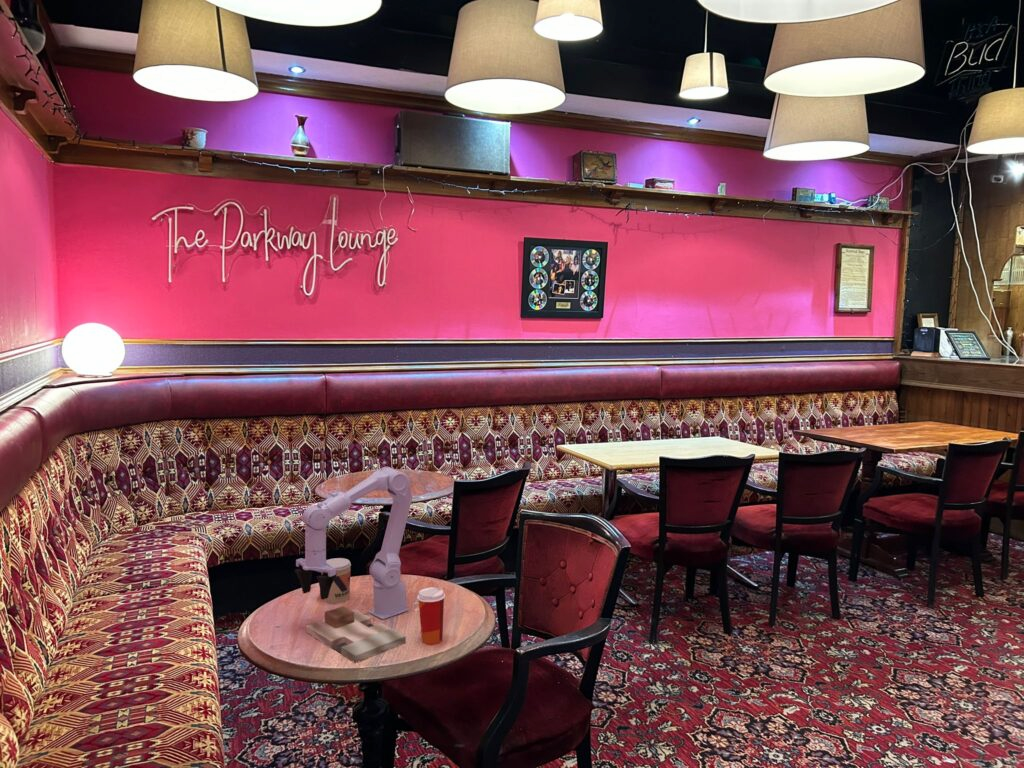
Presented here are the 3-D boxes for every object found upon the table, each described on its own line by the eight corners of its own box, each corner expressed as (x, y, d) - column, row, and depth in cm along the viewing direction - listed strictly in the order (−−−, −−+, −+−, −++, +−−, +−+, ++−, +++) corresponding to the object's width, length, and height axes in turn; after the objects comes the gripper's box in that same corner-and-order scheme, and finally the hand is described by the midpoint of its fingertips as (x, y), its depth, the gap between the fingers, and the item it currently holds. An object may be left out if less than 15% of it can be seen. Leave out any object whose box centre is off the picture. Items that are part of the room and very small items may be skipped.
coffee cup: (334, 607, 224) (333, 569, 223) (315, 600, 230) (314, 563, 229) (358, 597, 232) (357, 561, 231) (339, 591, 237) (337, 555, 236)
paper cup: (432, 632, 206) (431, 584, 205) (451, 639, 201) (450, 590, 200) (412, 641, 200) (410, 593, 199) (431, 649, 195) (430, 599, 194)
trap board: (354, 615, 218) (354, 609, 218) (405, 643, 200) (405, 636, 199) (306, 632, 207) (305, 625, 207) (355, 663, 188) (355, 655, 188)
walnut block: (343, 616, 213) (342, 606, 213) (354, 622, 209) (354, 612, 208) (325, 622, 209) (324, 612, 209) (336, 628, 205) (335, 618, 204)
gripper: (287, 547, 206) (287, 593, 207) (322, 557, 198) (321, 605, 199) (307, 541, 212) (307, 586, 213) (341, 551, 204) (341, 597, 205)
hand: (315, 595), depth 207 cm, fingers open, 7 cm apart
